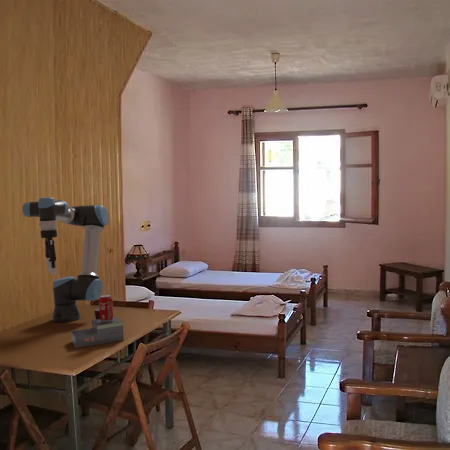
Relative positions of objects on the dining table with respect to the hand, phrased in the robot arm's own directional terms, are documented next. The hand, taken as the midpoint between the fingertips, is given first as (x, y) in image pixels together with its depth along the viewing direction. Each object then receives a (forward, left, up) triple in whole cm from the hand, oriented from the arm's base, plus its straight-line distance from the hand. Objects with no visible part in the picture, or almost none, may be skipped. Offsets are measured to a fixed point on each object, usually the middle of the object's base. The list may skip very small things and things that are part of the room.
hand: (51, 272), depth 270 cm
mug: (-1, +23, -32) cm, 39 cm away
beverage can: (+20, +21, -23) cm, 37 cm away
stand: (+20, +16, -33) cm, 42 cm away
